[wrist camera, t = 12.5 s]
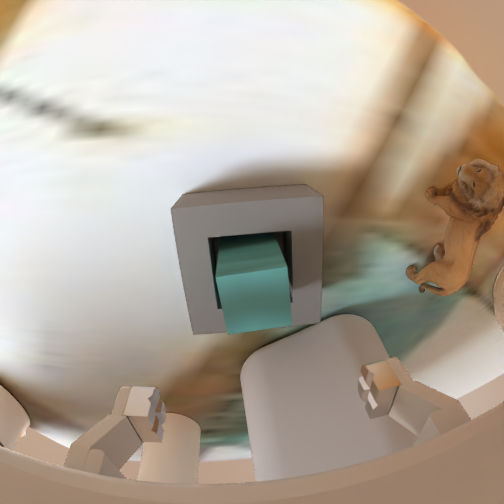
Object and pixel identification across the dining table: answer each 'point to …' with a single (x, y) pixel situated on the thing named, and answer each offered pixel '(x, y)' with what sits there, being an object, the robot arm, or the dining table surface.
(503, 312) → the lidded bowl
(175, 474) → the cylindrical container
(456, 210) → the lion figurine
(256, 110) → the dining table surface
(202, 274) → the bore block
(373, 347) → the plastic bottle
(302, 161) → the dining table surface
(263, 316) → the teal pin
